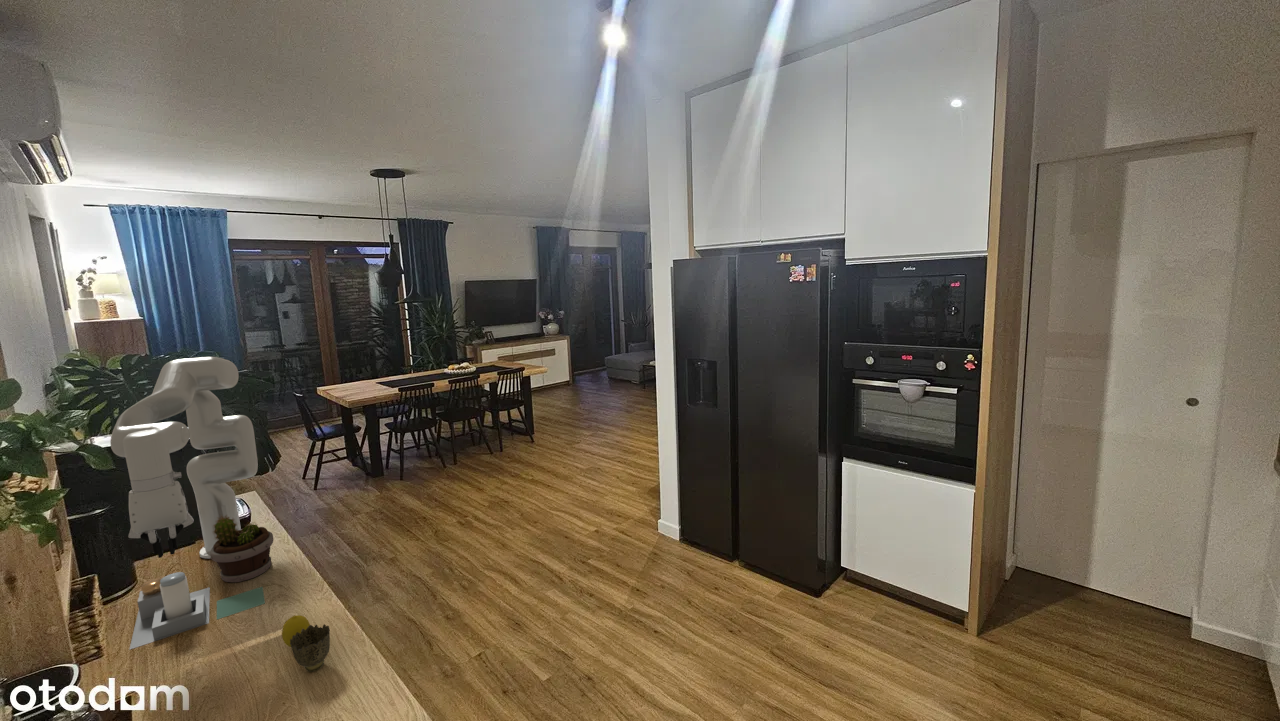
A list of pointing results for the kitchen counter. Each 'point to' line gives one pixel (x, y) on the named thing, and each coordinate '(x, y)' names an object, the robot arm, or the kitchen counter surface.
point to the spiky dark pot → (311, 647)
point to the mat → (240, 602)
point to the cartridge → (175, 595)
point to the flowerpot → (241, 550)
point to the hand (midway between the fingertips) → (167, 553)
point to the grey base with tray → (156, 625)
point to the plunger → (151, 587)
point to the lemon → (294, 627)
